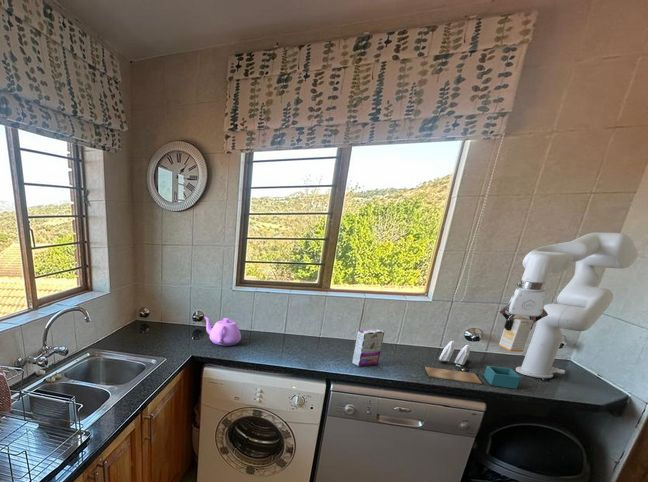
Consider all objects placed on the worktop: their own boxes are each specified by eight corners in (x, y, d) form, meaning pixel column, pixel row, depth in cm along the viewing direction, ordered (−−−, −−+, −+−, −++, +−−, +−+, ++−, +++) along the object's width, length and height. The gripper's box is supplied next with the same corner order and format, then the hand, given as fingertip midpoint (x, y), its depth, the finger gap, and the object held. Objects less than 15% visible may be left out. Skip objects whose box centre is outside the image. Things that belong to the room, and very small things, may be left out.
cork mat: (474, 374, 181) (474, 373, 181) (481, 384, 170) (482, 383, 170) (424, 367, 188) (425, 366, 188) (428, 376, 178) (429, 375, 177)
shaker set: (438, 363, 194) (444, 341, 190) (435, 360, 198) (441, 338, 194) (467, 365, 191) (474, 343, 187) (463, 363, 195) (470, 341, 191)
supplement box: (523, 352, 163) (534, 320, 158) (509, 351, 164) (520, 320, 159) (510, 346, 170) (521, 316, 166) (497, 345, 171) (508, 315, 166)
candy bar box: (369, 361, 196) (377, 328, 190) (377, 364, 192) (385, 331, 186) (350, 363, 193) (357, 330, 187) (358, 366, 189) (365, 333, 183)
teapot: (208, 335, 238) (209, 312, 233) (244, 339, 229) (246, 316, 224) (195, 344, 220) (196, 320, 215) (234, 350, 211) (237, 324, 206)
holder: (507, 379, 175) (511, 368, 174) (516, 388, 166) (520, 377, 164) (483, 376, 179) (487, 365, 177) (490, 385, 169) (494, 374, 167)
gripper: (507, 286, 158) (493, 330, 165) (565, 289, 151) (547, 335, 158) (501, 283, 164) (488, 326, 171) (556, 286, 157) (540, 330, 164)
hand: (516, 330), depth 164 cm, fingers closed on supplement box, 5 cm apart
